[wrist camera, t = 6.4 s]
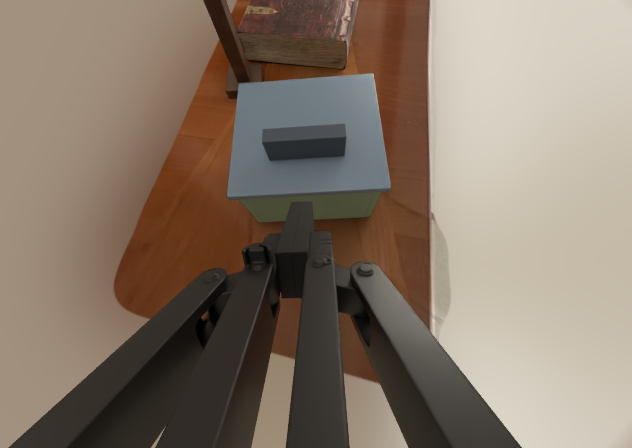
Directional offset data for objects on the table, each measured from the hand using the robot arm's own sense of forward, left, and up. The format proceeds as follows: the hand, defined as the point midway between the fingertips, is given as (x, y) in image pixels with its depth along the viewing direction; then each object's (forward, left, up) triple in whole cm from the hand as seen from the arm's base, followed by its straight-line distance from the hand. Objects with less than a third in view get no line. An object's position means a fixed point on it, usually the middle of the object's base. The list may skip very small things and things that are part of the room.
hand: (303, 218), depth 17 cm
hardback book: (+18, +47, -15) cm, 52 cm away
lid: (+4, +12, -6) cm, 14 cm away
